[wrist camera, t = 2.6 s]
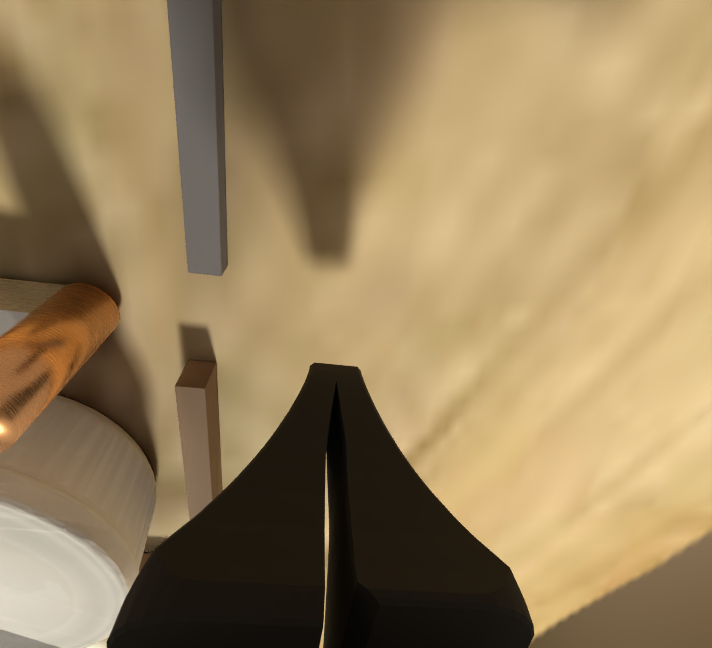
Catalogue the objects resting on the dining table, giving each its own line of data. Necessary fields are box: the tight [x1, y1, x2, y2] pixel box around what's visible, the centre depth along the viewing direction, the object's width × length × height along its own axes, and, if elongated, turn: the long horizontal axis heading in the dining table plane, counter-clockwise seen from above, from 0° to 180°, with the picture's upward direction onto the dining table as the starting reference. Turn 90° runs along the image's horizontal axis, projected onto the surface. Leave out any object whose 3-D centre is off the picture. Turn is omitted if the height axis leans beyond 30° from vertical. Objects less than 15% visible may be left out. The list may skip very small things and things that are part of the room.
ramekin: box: [0, 395, 156, 648], centre depth 16 cm, size 11×11×5 cm
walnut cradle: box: [139, 360, 222, 572], centre depth 18 cm, size 15×14×2 cm
